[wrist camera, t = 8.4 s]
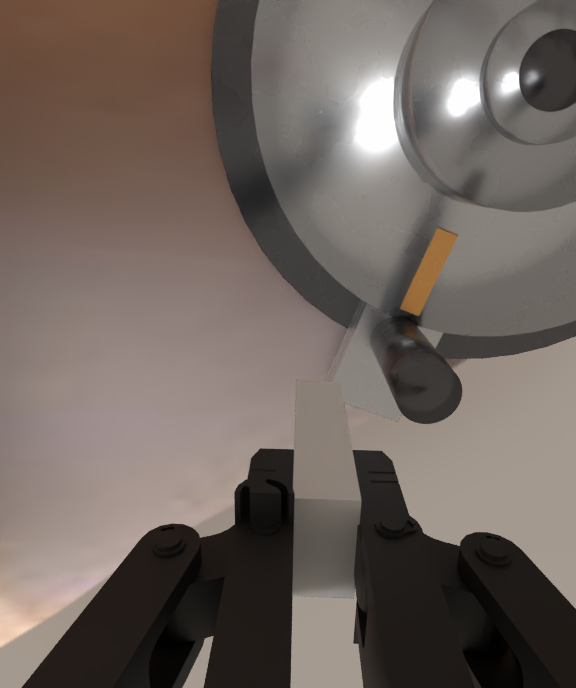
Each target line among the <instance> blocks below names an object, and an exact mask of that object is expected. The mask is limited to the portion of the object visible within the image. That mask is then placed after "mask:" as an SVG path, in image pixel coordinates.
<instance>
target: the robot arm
mask: <svg viewBox="0 0 576 688" xmlns="http://www.w3.org/2000/svg"><path fill="white" fill-rule="evenodd" d="M355 589H356V596H357V604H356V617H355V630H354V642H353V643H355V644H359V653H360V661H361V670H362V679H363V687H364V688H576V609H575V608H574V607H573V606H572V605H571V604H570V602H569V601H568V600H567V599H566V598H565V597H564V596H563V595H562V594H561V593H560V592H559V590H558V589H557V588H556V587H555V586H554V585H553V584H552V583H551V582H550V581H549V580H548V578H547V577H546V576H545V575H544V574H543V573H542V572H541V571H540V570H539V569H538V567H537V566H536V565H535V564H534V563H533V562H532V561H531V560H530V559H529V558H528V557H527V556H526V554H525V553H524V552H523V551H522V550H521V549H520V548H519V547H517V546H516V545H515V544H514V543H513V542H511V541H509V540H507V539H505V538H503V537H501V536H499V535H495V534H491V533H487V532H486V533H484V532H479V533H478V532H475V533H472V534H469V535H466V536H465V537H464V539H462V541H461V543H460V546H457V545H454V544H450V543H445V542H442V541H439V540H436V539H433V538H431V537H429V536H427V535H426V534H424V533H423V531H422V528H421V527H420V525H419V524H418V522H417V521H416V520H415V519H413V518H412V517H411V516H409V513H408V510H407V507H406V504H405V501H404V498H403V494H402V491H401V488H400V485H399V483H398V479H397V476H396V472H395V469H394V466H393V462H392V461H391V459H389V458H388V457H387V456H386V455H385V454H384V453H383V452H382V451H367V450H365V451H364V450H352V445H351V440H350V434H349V429H348V423H347V418H346V412H345V407H344V401H343V396H342V390H341V385H340V382H335V381H297V380H296V408H295V439H294V450H290V449H259V450H258V452H257V453H256V454H255V455H254V456H253V457H252V458H251V463H250V468H249V474H248V479H247V480H245V481H244V482H242V483H241V484H239V485H238V487H237V488H236V490H235V525H233V526H232V527H231V528H230V529H228V530H226V531H224V532H222V533H219V534H215V535H212V536H207V537H202V538H200V537H199V534H198V533H197V532H196V531H195V530H194V529H193V528H191V527H189V526H186V525H184V524H168V525H163V526H159V527H157V528H155V529H153V530H151V531H149V532H148V533H147V534H146V535H145V536H143V537H142V538H141V539H140V541H139V542H138V543H137V544H136V546H135V547H134V548H133V549H132V551H131V552H130V553H129V554H128V556H127V557H126V558H125V559H124V561H123V562H122V563H121V564H120V566H119V567H118V568H117V569H116V571H115V572H114V573H113V574H112V576H111V577H110V578H109V579H108V581H107V582H106V583H105V584H104V586H103V587H102V588H101V589H100V591H99V592H98V593H97V594H96V596H95V597H94V598H93V599H92V600H91V602H90V603H89V604H88V605H87V607H86V608H85V609H84V610H83V612H82V613H81V614H80V615H79V617H78V618H77V619H76V621H75V622H74V623H73V624H72V625H71V627H70V628H69V629H68V630H67V632H66V633H65V634H64V635H63V637H62V638H61V639H60V640H59V642H58V643H57V644H56V645H55V647H54V648H53V649H52V650H51V652H50V653H49V654H48V655H47V657H46V658H45V659H44V660H43V662H42V663H41V664H40V666H39V667H38V668H37V669H36V670H35V672H34V673H33V674H32V675H31V677H30V678H29V679H28V680H27V682H26V683H25V684H24V685H23V687H22V688H182V687H183V685H184V683H185V681H186V679H187V677H188V675H189V673H190V671H191V669H192V667H193V665H194V663H195V661H196V658H197V657H198V654H199V652H200V650H201V648H202V646H203V643H204V639H205V638H207V637H211V636H214V637H213V642H212V647H211V652H210V658H209V663H208V668H207V673H206V678H205V684H204V688H290V680H291V635H292V632H291V631H292V596H301V597H329V598H354V591H355Z"/></svg>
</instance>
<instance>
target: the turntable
mask: <svg viewBox="0 0 576 688" xmlns="http://www.w3.org/2000/svg"><path fill="white" fill-rule="evenodd" d="M433 1H434V0H259V4H258V9H257V14H256V19H255V26H254V37H253V48H252V59H251V76H252V104H253V111H254V118H255V125H256V132H257V138H258V142H259V146H260V150H261V153H262V157H263V161H264V164H265V168H266V172H267V175H268V177H269V180H270V182H271V185H272V187H273V189H274V192H275V194H276V197H277V199H278V202H279V204H280V206H281V208H282V210H283V211H284V213H285V215H286V217H287V218H288V220H289V222H290V224H291V225H292V227H293V229H294V231H295V233H296V234H297V235H298V237H299V238H300V239H301V241H302V242H303V243H304V245H305V246H306V247H307V249H308V250H309V251H310V253H311V254H312V255H313V257H314V258H315V259H316V260H317V261H318V262H319V263H320V264H321V265H322V266H323V267H324V268H325V269H326V270H327V271H328V272H329V273H330V274H331V275H332V276H333V277H334V278H335V279H336V280H337V281H338V282H339V283H340V284H342V285H343V286H344V287H345V288H347V289H348V290H349V291H351V292H352V293H353V294H355V295H356V296H357V297H358V298H360V301H359V303H358V306H357V308H356V310H355V313H354V315H353V317H352V319H351V322H350V324H349V326H348V328H347V331H346V333H345V335H344V337H343V340H342V342H341V344H340V346H339V349H338V351H337V353H336V355H335V358H334V360H333V362H332V365H331V367H330V369H329V371H328V374H327V376H326V378H325V380H324V381H335V382H340V385H341V390H342V396H343V401H344V403H346V404H348V405H351V406H354V407H357V408H360V409H362V410H365V411H368V412H371V413H374V414H376V415H379V416H382V417H385V418H388V419H391V420H393V421H396V422H398V421H399V419H400V417H401V415H402V414H403V415H404V416H405V417H407V418H408V419H409V420H411V421H414V422H417V423H422V424H431V423H436V422H439V421H441V420H444V419H445V418H447V417H448V416H450V415H451V414H452V413H453V412H454V411H455V410H456V408H457V407H458V405H459V403H460V401H461V397H462V385H461V382H460V380H459V378H458V376H457V375H456V374H455V372H454V371H453V370H452V369H451V367H450V366H449V365H448V364H447V362H446V361H445V360H444V359H443V358H442V356H441V355H440V354H439V353H438V351H437V350H436V349H435V348H436V346H437V344H438V342H439V340H440V338H441V337H442V335H443V333H450V334H458V335H466V336H508V335H516V334H524V333H532V332H536V331H540V330H545V329H549V328H553V327H557V326H561V325H564V324H567V323H570V322H572V321H575V320H576V201H575V202H572V203H569V204H567V205H564V206H561V207H557V208H553V209H549V210H544V211H534V212H512V211H506V210H499V209H493V208H487V207H481V206H475V205H470V204H464V203H461V202H458V201H455V200H452V199H450V198H448V197H446V196H444V195H442V194H440V193H439V192H438V191H436V190H435V189H433V188H432V187H430V186H429V185H428V184H427V183H426V182H425V181H424V180H423V179H422V178H421V177H420V176H419V175H418V174H417V173H416V171H415V170H414V169H413V168H412V166H411V164H410V163H409V161H408V159H407V158H406V156H405V154H404V152H403V150H402V147H401V145H400V143H399V139H398V136H397V132H396V129H395V123H394V117H393V86H394V79H395V74H396V69H397V65H398V62H399V59H400V56H401V53H402V50H403V48H404V45H405V43H406V41H407V39H408V37H409V35H410V33H411V31H412V30H413V28H414V26H415V25H416V23H417V21H418V20H419V18H420V17H421V16H422V15H423V13H424V12H425V11H426V9H427V8H428V7H429V6H430V4H431V3H432V2H433Z"/></svg>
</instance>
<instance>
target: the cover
mask: <svg viewBox="0 0 576 688" xmlns="http://www.w3.org/2000/svg"><path fill="white" fill-rule="evenodd" d="M393 117H394V123H395V129H396V132H397V136H398V139H399V143H400V145H401V147H402V150H403V152H404V154H405V156H406V158H407V159H408V161H409V163H410V164H411V166H412V168H413V169H414V170H415V171H416V173H417V174H418V175H419V176H420V177H421V178H422V179H423V180H424V181H425V182H426V183H427V184H428V185H429V186H430V187H432V188H433V189H435V190H436V191H438V192H439V193H440V194H442V195H444V196H446V197H448V198H450V199H452V200H455V201H458V202H461V203H464V204H470V205H475V206H481V207H487V208H493V209H499V210H506V211H512V212H534V211H544V210H549V209H553V208H557V207H561V206H564V205H567V204H569V203H572V202H575V201H576V0H434V1H433V2H432V3H431V4H430V6H429V7H428V8H427V9H426V11H425V12H424V13H423V15H422V16H421V17H420V18H419V20H418V21H417V23H416V25H415V26H414V28H413V30H412V31H411V33H410V35H409V37H408V39H407V41H406V43H405V45H404V48H403V50H402V53H401V56H400V59H399V62H398V65H397V69H396V74H395V79H394V86H393Z"/></svg>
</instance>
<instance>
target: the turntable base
mask: <svg viewBox="0 0 576 688" xmlns="http://www.w3.org/2000/svg"><path fill="white" fill-rule="evenodd" d="M258 4H259V0H219V3H218V8H217V14H216V19H215V25H214V34H213V49H212V64H211V80H212V100H213V115H214V121H215V126H216V132H217V138H218V144H219V150H220V154H221V157H222V161H223V164H224V168H225V171H226V174H227V178H228V181H229V184H230V188H231V190H232V192H233V195H234V197H235V199H236V202H237V204H238V206H239V209H240V211H241V213H242V215H243V218H244V220H245V222H246V224H247V225H248V227H249V229H250V230H251V232H252V234H253V235H254V237H255V239H256V240H257V242H258V244H259V246H260V247H261V249H262V251H263V252H264V253H265V255H266V256H267V257H268V258H269V260H270V261H271V262H272V263H273V265H274V266H275V267H276V269H277V270H278V271H279V272H280V274H281V275H282V276H283V277H284V279H285V280H286V281H288V282H289V283H290V284H291V285H292V286H293V287H294V288H295V289H296V290H297V291H298V292H299V293H300V294H301V295H302V296H303V297H304V298H305V299H306V300H307V301H308V302H310V303H311V304H312V305H314V306H315V307H316V308H318V309H319V310H320V311H322V312H323V313H324V314H326V315H327V316H328V317H330V318H331V319H332V320H334V321H336V322H337V323H339V324H341V325H343V326H344V327H346V328H348V326H349V324H350V322H351V319H352V317H353V315H354V313H355V310H356V308H357V306H358V303H359V301H360V298H358V297H357V296H356V295H355V294H353V293H352V292H351V291H349V290H348V289H347V288H345V287H344V286H343V285H342V284H340V283H339V282H338V281H337V280H336V279H335V278H334V277H333V276H332V275H331V274H330V273H329V272H328V271H327V270H326V269H325V268H324V267H323V266H322V265H321V264H320V263H319V262H318V261H317V260H316V259H315V258H314V257H313V255H312V254H311V253H310V251H309V250H308V249H307V247H306V246H305V245H304V243H303V242H302V241H301V239H300V238H299V237H298V235H297V234H296V233H295V231H294V229H293V227H292V225H291V224H290V222H289V220H288V218H287V217H286V215H285V213H284V211H283V210H282V208H281V206H280V204H279V202H278V199H277V197H276V194H275V192H274V189H273V187H272V185H271V182H270V180H269V177H268V175H267V172H266V168H265V164H264V161H263V157H262V153H261V150H260V146H259V142H258V138H257V132H256V125H255V118H254V111H253V104H252V76H251V59H252V48H253V37H254V26H255V19H256V14H257V9H258ZM575 336H576V320H575V321H572V322H570V323H567V324H564V325H561V326H557V327H553V328H549V329H545V330H540V331H536V332H532V333H524V334H516V335H508V336H466V335H458V334H450V333H443V335H442V337H441V338H440V340H439V342H438V344H437V346H436V348H435V349H436V350H437V351H438V353H439V354H440V355H441V356H442V357H443V358H490V357H498V356H506V355H514V354H519V353H523V352H527V351H531V350H535V349H539V348H543V347H547V346H550V345H552V344H555V343H558V342H561V341H563V340H566V339H569V338H572V337H575Z"/></svg>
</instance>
